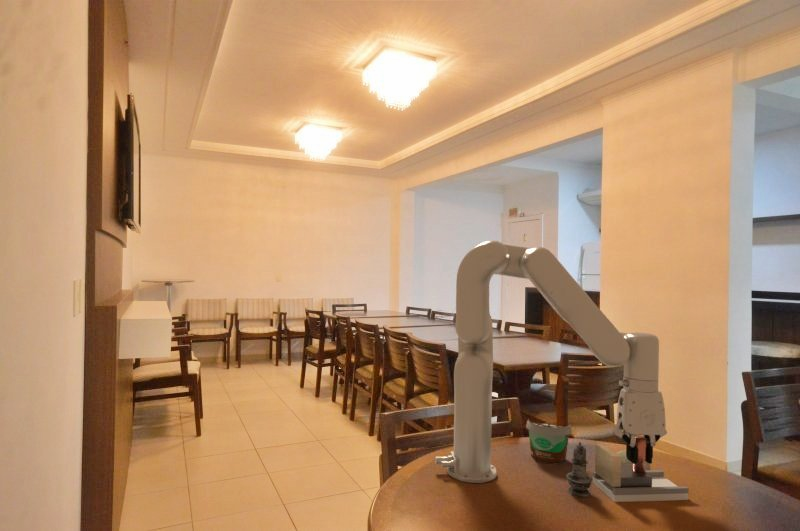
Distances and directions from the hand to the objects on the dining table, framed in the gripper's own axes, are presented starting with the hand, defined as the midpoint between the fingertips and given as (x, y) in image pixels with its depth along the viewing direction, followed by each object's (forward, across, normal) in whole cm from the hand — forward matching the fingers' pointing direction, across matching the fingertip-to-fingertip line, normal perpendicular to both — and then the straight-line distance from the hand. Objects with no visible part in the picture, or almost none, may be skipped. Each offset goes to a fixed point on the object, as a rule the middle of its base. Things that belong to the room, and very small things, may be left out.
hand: (639, 460), depth 116 cm
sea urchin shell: (+8, +5, +12) cm, 15 cm away
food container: (+7, -15, +19) cm, 25 cm away
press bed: (+7, 0, 0) cm, 7 cm away
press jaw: (+5, -4, 0) cm, 7 cm away
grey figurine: (+7, -15, 0) cm, 17 cm away
